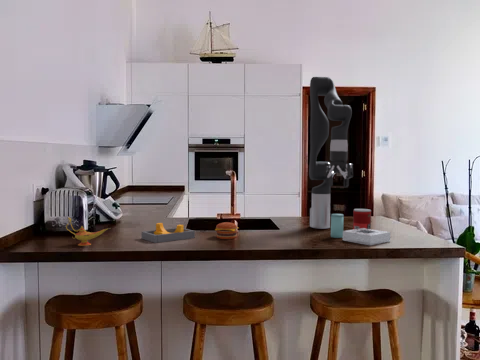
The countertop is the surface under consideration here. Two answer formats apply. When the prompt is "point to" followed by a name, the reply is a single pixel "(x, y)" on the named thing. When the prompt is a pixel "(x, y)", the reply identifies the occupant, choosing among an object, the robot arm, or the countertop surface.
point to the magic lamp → (85, 234)
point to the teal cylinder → (337, 225)
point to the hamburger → (226, 230)
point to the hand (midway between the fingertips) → (338, 186)
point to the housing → (366, 236)
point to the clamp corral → (168, 235)
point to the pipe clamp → (161, 230)
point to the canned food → (362, 218)
